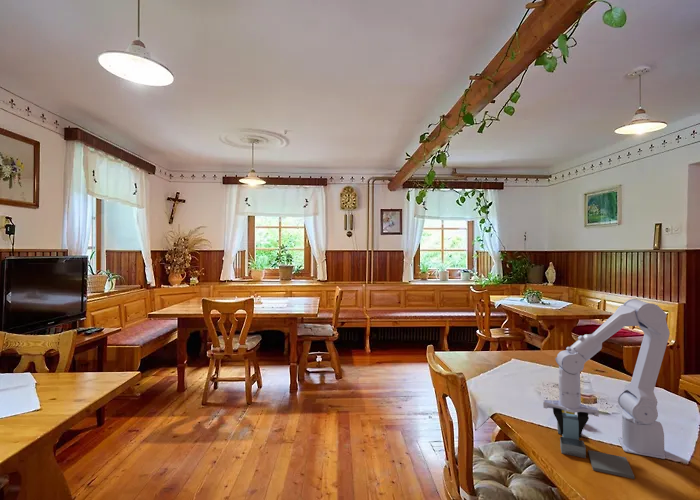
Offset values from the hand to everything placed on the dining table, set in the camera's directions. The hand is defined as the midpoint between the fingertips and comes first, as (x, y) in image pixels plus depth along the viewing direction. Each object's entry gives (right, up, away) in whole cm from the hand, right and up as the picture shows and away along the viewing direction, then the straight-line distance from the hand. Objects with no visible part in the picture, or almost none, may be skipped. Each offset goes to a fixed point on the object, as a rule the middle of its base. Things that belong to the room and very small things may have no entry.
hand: (570, 434), depth 111 cm
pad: (+4, -3, -12) cm, 13 cm away
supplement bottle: (+8, -2, +15) cm, 17 cm away
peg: (0, -2, 0) cm, 2 cm away
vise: (+1, -2, +1) cm, 3 cm away
